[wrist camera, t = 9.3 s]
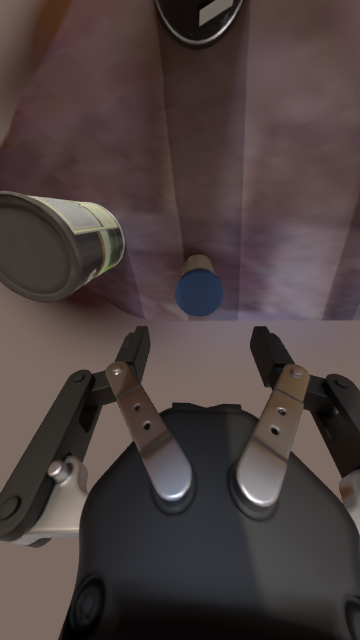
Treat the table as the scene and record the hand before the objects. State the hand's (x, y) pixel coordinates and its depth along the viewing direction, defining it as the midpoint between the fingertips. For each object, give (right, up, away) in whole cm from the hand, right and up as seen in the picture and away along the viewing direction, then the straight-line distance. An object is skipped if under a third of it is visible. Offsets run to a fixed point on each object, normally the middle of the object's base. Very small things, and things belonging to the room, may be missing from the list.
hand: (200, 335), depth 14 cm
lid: (+1, +4, +8) cm, 9 cm away
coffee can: (-16, +15, +16) cm, 27 cm away
